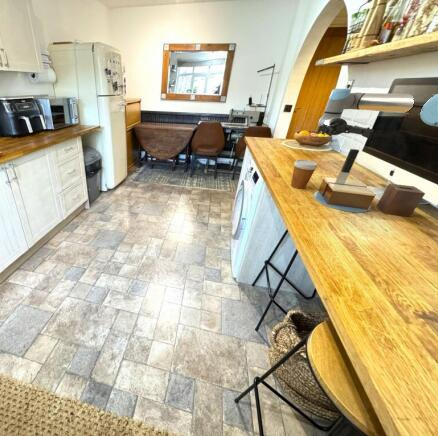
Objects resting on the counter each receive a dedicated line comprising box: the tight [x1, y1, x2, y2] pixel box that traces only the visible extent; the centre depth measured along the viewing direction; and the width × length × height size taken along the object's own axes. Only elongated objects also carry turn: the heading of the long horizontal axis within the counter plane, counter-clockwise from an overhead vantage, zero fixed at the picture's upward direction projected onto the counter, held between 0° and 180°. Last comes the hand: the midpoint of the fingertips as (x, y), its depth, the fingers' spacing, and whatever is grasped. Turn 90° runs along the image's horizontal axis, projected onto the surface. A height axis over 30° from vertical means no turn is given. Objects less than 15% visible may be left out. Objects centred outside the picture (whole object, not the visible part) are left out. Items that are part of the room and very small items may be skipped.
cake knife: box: [335, 148, 360, 185], centre depth 98 cm, size 3×2×21 cm, turn 71°
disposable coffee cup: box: [290, 159, 318, 190], centre depth 113 cm, size 10×10×12 cm
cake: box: [313, 176, 377, 214], centre depth 101 cm, size 20×20×8 cm
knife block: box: [376, 183, 426, 218], centre depth 93 cm, size 8×7×10 cm
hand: (350, 134), depth 98 cm, fingers open, 13 cm apart
